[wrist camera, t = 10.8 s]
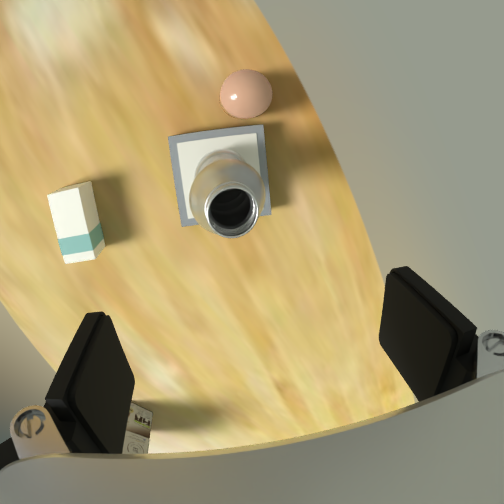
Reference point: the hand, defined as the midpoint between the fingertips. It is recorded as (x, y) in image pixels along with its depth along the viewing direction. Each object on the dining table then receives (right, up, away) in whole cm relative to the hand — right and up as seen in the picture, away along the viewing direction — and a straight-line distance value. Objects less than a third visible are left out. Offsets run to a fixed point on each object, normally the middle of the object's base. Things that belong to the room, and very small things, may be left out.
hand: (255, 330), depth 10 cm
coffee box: (-26, -32, +49) cm, 64 cm away
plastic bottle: (-4, +12, +30) cm, 33 cm away
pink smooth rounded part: (-1, +23, +30) cm, 38 cm away
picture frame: (-4, +13, +33) cm, 36 cm away
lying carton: (-25, +8, +33) cm, 42 cm away
